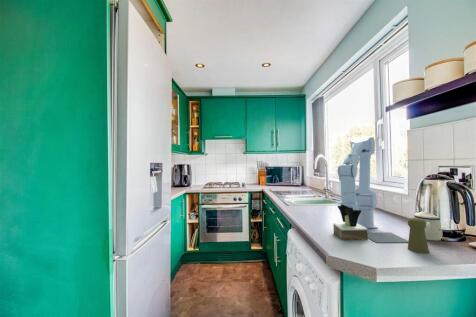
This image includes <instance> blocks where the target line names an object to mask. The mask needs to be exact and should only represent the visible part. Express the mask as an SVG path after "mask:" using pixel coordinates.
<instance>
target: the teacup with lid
mask: <svg viewBox="0 0 476 317" xmlns="http://www.w3.org/2000/svg"><path fill="white" fill-rule="evenodd" d="M423 211H424V210H422V211H420V212H415V213H414V215H413V216H414V217H413V218H419V219H423V220H424V221H425V222H426V228H425V229H424V230H425V234H426V239H427V241H436V242H437V241H442V240H441V237H442V236H443V229H442V230H441V223H440V217H438V216H435V215H433V214H431V213H429V212H423Z"/></svg>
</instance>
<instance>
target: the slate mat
mask: <svg viewBox="0 0 476 317" xmlns="http://www.w3.org/2000/svg"><path fill="white" fill-rule="evenodd" d="M367 235H368V240H371V241H372V242H374V243H376V244H405V243H406V244H408V241H409V239H406V238H403V237H401V236H399V235H397V234H395V233H393V232H367Z"/></svg>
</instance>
